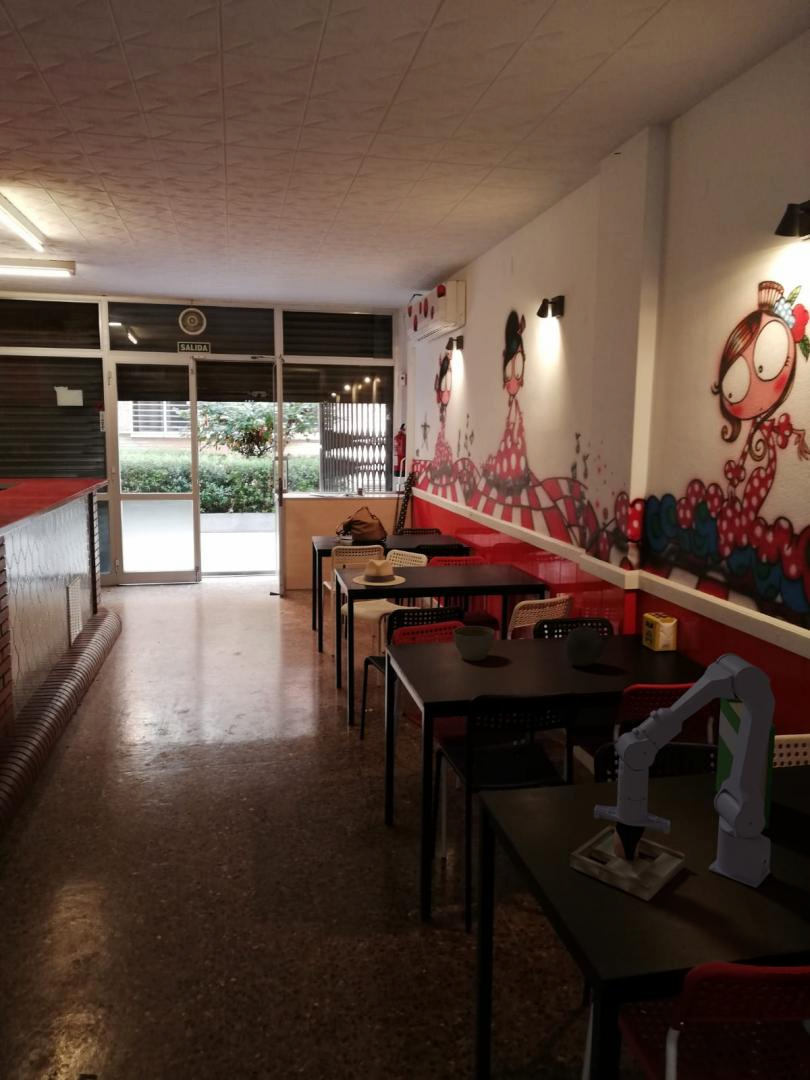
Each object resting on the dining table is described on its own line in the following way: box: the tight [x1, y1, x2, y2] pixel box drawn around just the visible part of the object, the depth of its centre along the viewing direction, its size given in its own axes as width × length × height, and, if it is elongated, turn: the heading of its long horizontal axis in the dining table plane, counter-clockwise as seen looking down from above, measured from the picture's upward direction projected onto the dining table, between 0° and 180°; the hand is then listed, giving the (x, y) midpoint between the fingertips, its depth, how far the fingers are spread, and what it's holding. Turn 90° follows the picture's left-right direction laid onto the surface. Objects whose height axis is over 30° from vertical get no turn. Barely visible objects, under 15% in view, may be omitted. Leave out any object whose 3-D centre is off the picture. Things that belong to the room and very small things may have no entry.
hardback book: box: [715, 697, 776, 830], centre depth 181 cm, size 18×7×24 cm, turn 171°
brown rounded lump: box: [614, 831, 640, 859], centre depth 160 cm, size 5×5×4 cm
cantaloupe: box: [563, 626, 605, 668], centre depth 293 cm, size 14×14×15 cm
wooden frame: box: [569, 825, 686, 902], centre depth 158 cm, size 17×16×3 cm
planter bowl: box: [452, 625, 496, 662], centre depth 304 cm, size 16×16×11 cm
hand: (629, 857), depth 155 cm, fingers closed
